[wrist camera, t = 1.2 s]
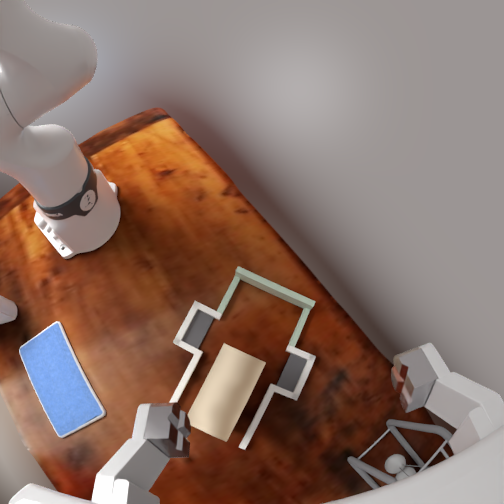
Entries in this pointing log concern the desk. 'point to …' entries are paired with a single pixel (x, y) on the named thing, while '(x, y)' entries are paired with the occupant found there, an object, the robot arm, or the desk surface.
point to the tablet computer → (60, 381)
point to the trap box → (298, 359)
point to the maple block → (225, 392)
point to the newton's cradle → (398, 461)
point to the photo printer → (7, 310)
